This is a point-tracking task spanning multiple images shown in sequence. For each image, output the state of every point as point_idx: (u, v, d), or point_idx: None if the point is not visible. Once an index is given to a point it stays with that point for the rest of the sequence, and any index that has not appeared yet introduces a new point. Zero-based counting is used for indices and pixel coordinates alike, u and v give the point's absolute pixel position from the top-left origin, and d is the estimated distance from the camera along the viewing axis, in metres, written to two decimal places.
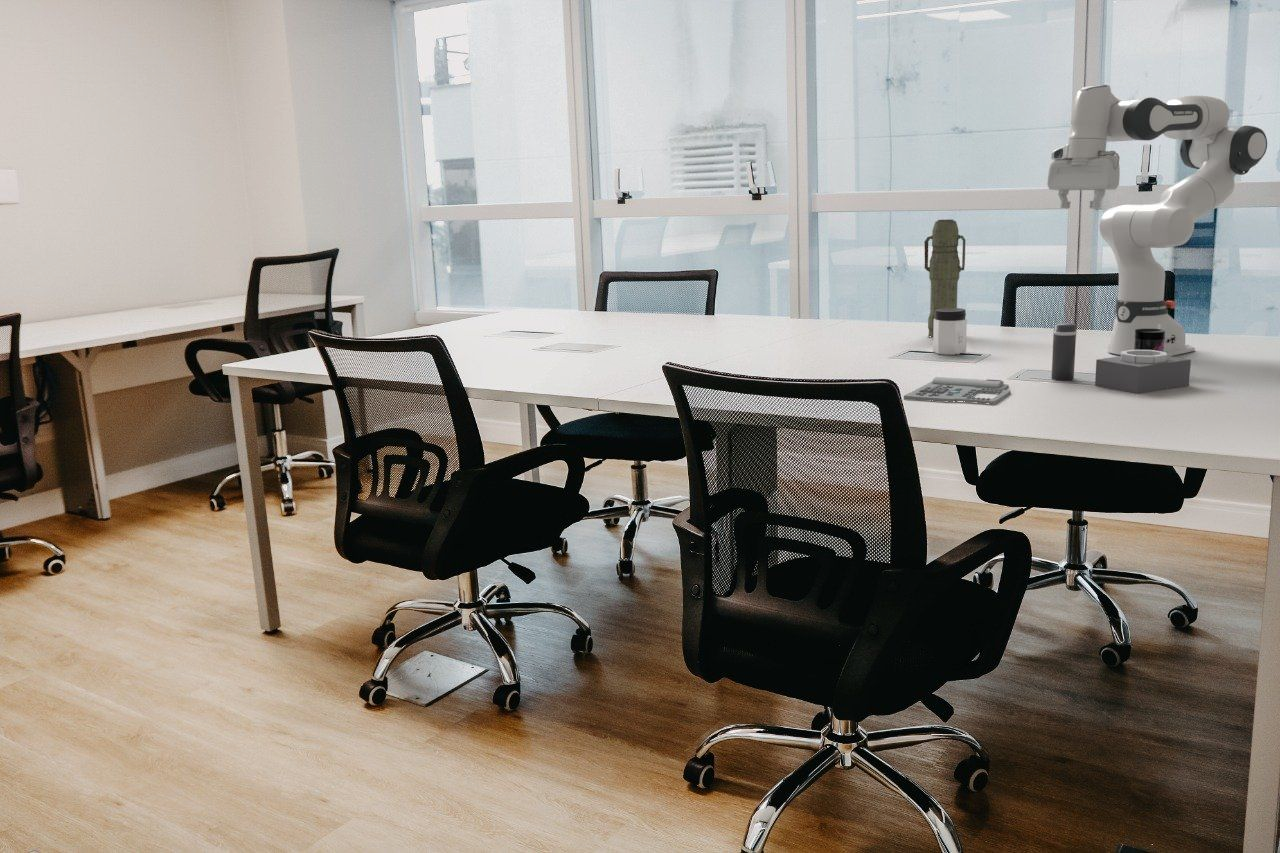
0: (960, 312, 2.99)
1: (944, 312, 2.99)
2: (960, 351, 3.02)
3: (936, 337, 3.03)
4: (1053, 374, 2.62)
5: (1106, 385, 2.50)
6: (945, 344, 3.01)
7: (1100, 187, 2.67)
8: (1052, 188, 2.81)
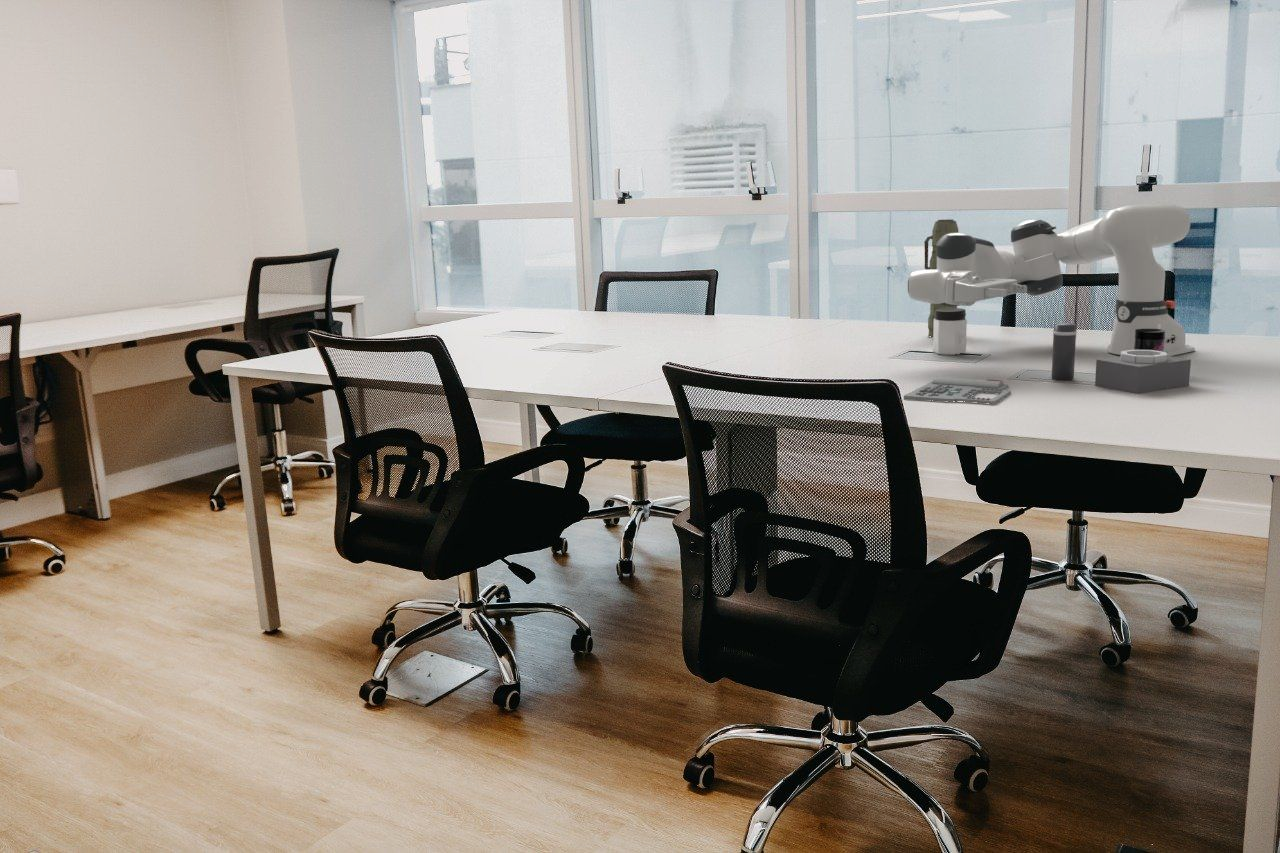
0: (960, 312, 2.99)
1: (944, 312, 2.99)
2: (960, 351, 3.02)
3: (936, 337, 3.03)
4: (1053, 374, 2.62)
5: (1106, 385, 2.50)
6: (945, 344, 3.01)
7: (1012, 280, 2.75)
8: (980, 286, 2.65)
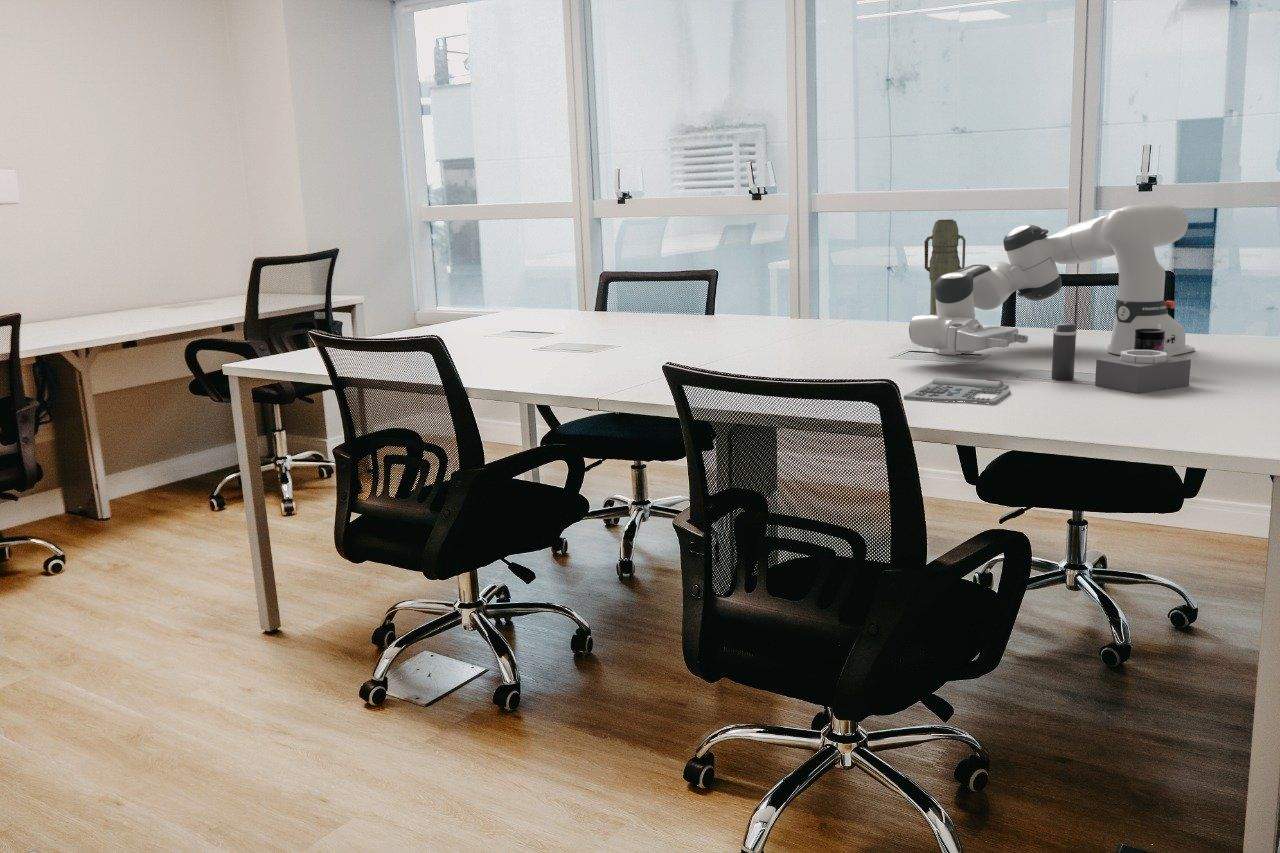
0: None
1: None
2: (960, 352, 3.02)
3: None
4: (1053, 374, 2.62)
5: (1106, 385, 2.50)
6: None
7: (1014, 329, 2.77)
8: (982, 336, 2.66)
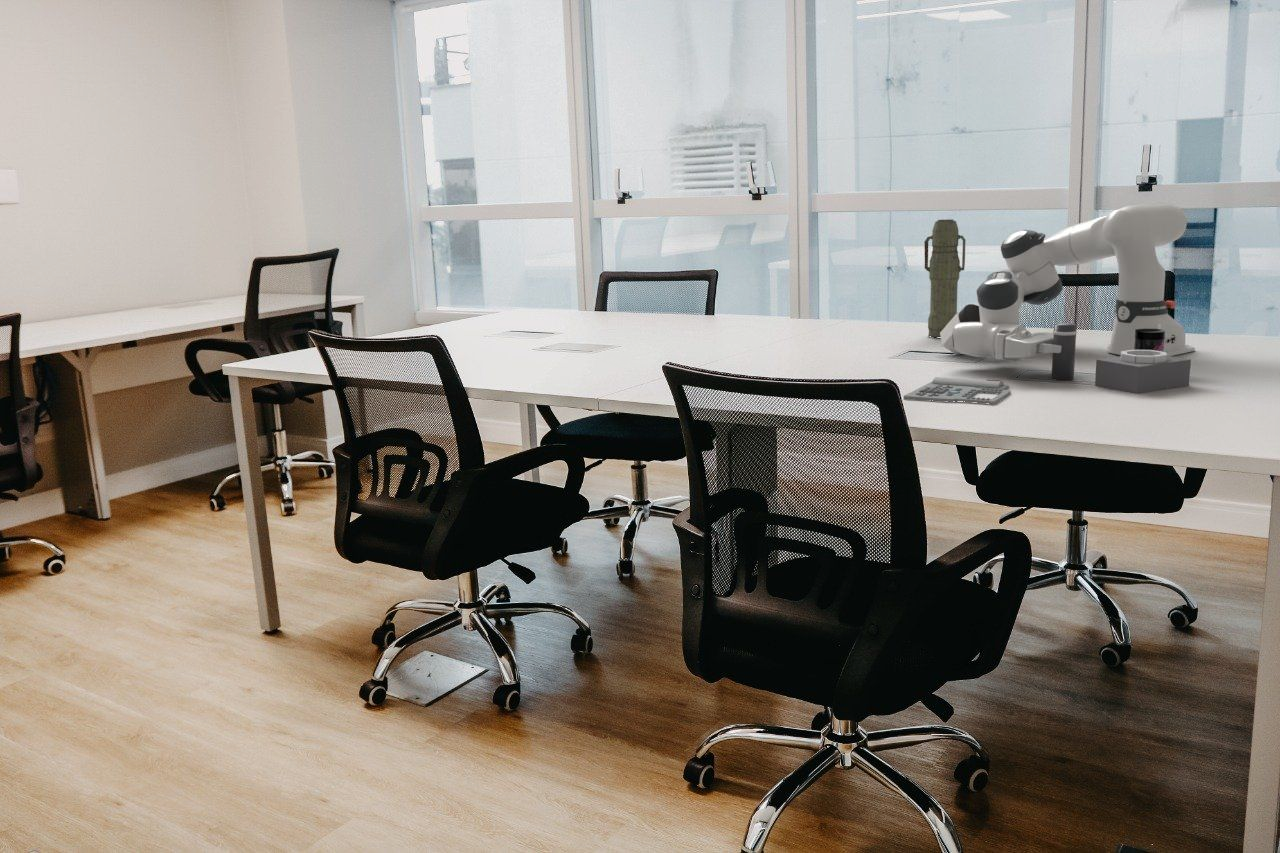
0: None
1: None
2: None
3: (949, 331, 2.99)
4: (1053, 374, 2.62)
5: (1106, 385, 2.50)
6: None
7: None
8: (1032, 342, 2.58)
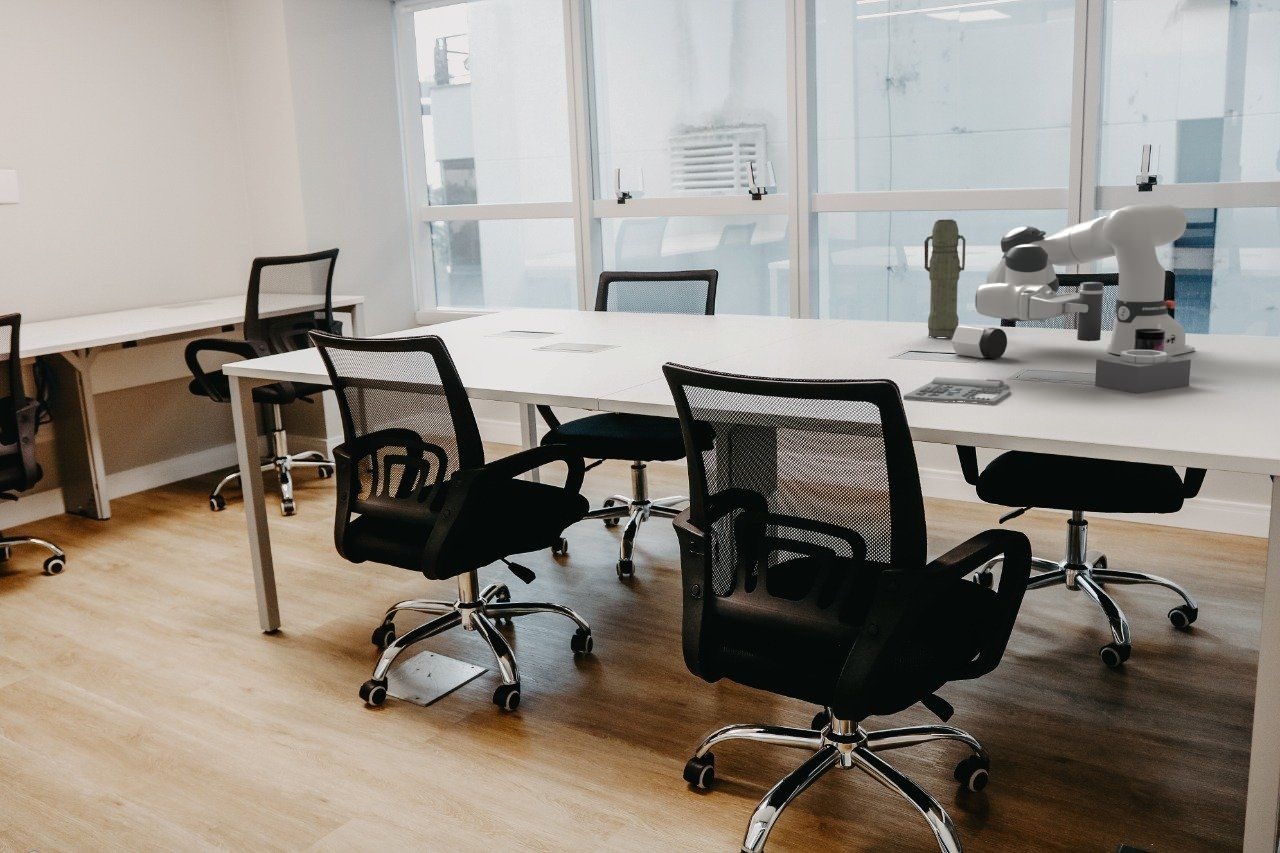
0: (994, 358, 2.92)
1: (986, 350, 2.90)
2: None
3: (965, 337, 2.95)
4: (1079, 334, 2.55)
5: (1106, 385, 2.50)
6: (961, 348, 2.97)
7: None
8: (1058, 301, 2.51)
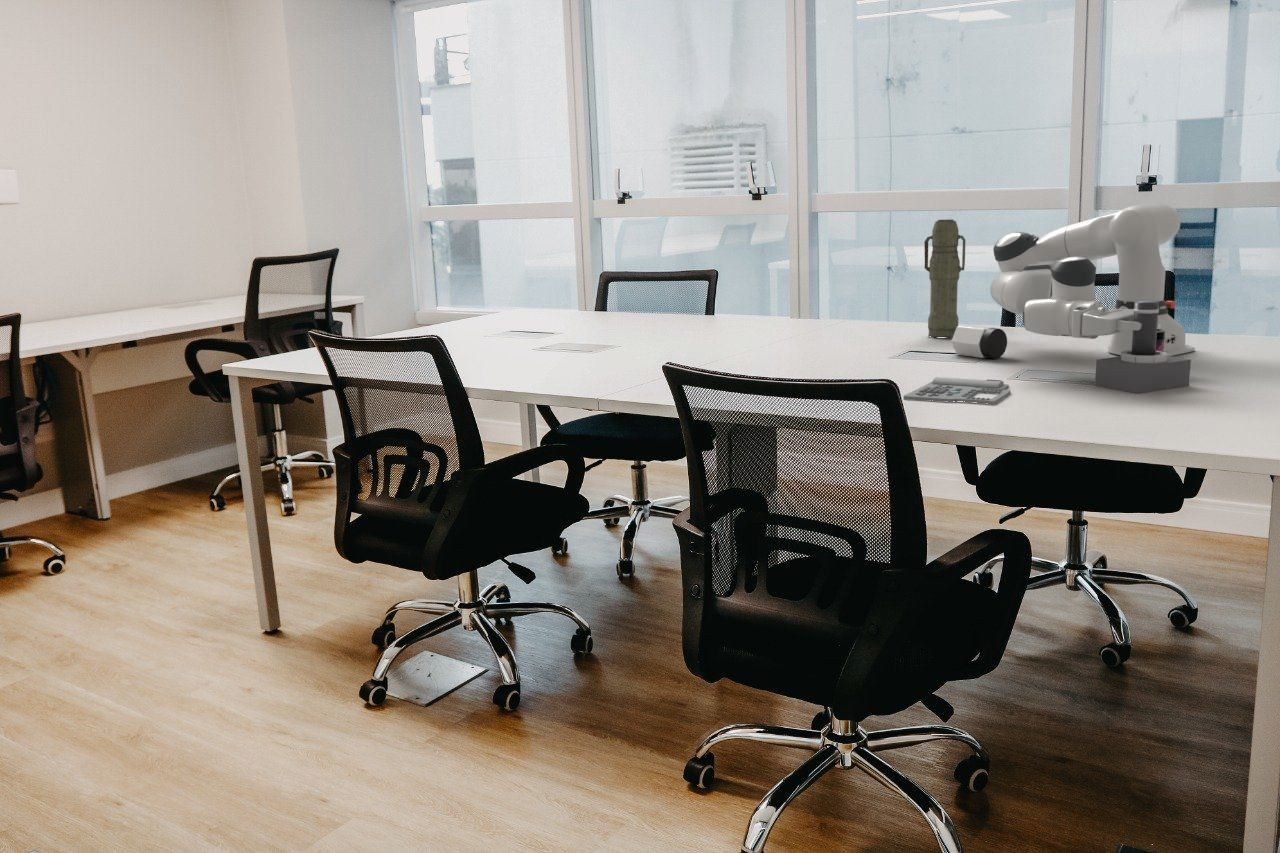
0: (994, 358, 2.92)
1: (986, 350, 2.90)
2: None
3: (966, 337, 2.95)
4: (1133, 354, 2.49)
5: (1106, 385, 2.50)
6: (961, 348, 2.97)
7: None
8: (1112, 318, 2.45)
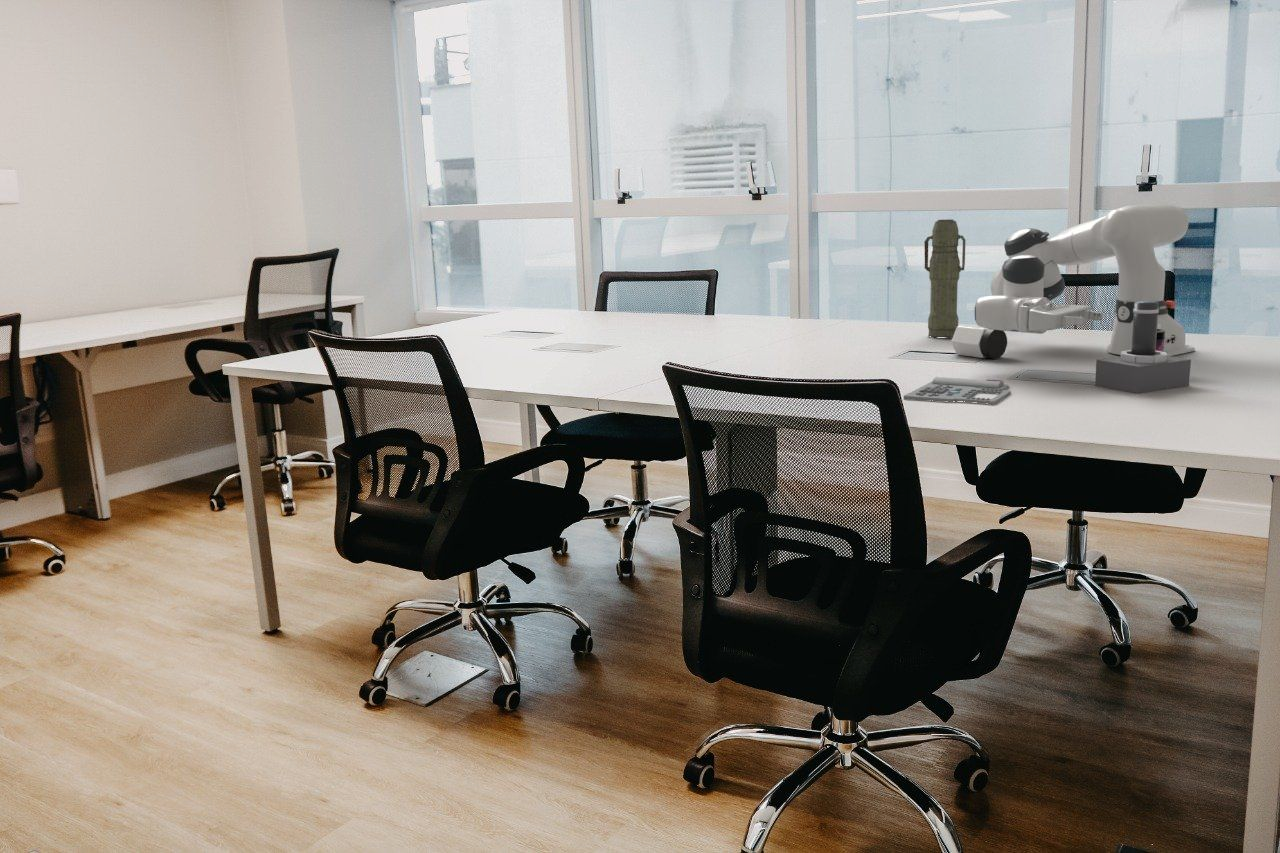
0: (994, 358, 2.92)
1: (986, 350, 2.90)
2: None
3: (966, 337, 2.95)
4: (1133, 354, 2.49)
5: (1106, 385, 2.50)
6: (961, 348, 2.97)
7: (1086, 306, 2.65)
8: (1057, 314, 2.54)
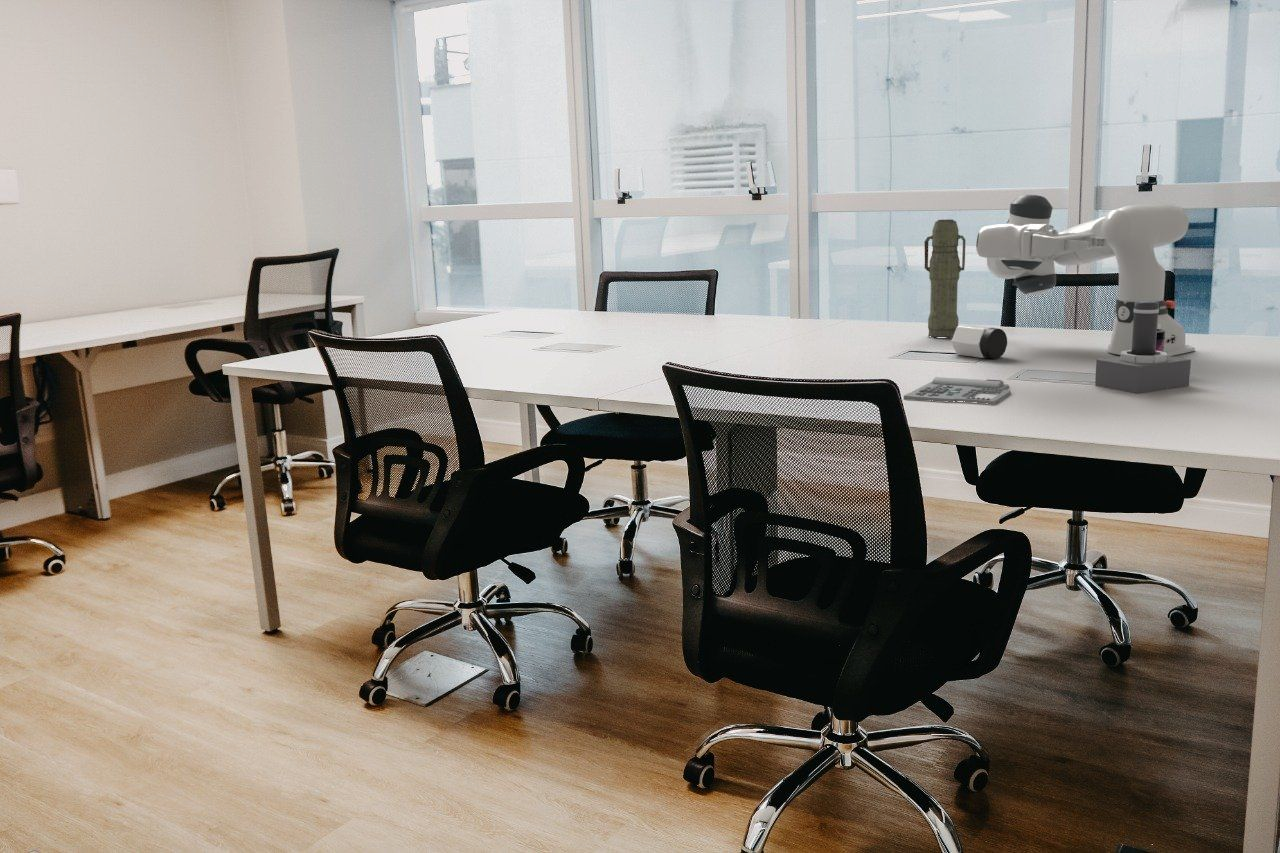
0: (994, 358, 2.92)
1: (986, 350, 2.90)
2: None
3: (966, 337, 2.95)
4: (1133, 354, 2.49)
5: (1106, 385, 2.50)
6: (961, 348, 2.97)
7: (1090, 233, 2.61)
8: (1060, 238, 2.50)
